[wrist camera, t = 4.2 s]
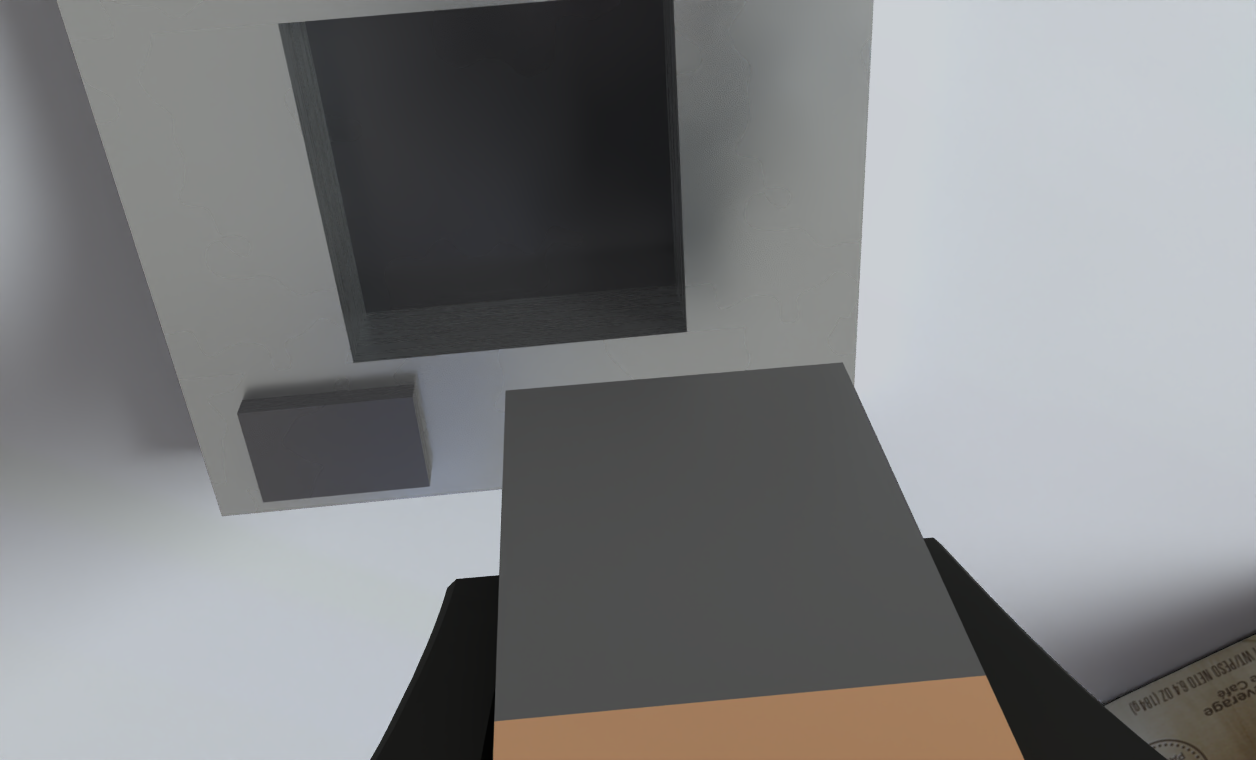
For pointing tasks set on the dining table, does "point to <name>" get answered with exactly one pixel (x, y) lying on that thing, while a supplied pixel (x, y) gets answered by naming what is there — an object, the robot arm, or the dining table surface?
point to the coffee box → (1199, 708)
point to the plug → (722, 581)
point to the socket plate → (471, 213)
